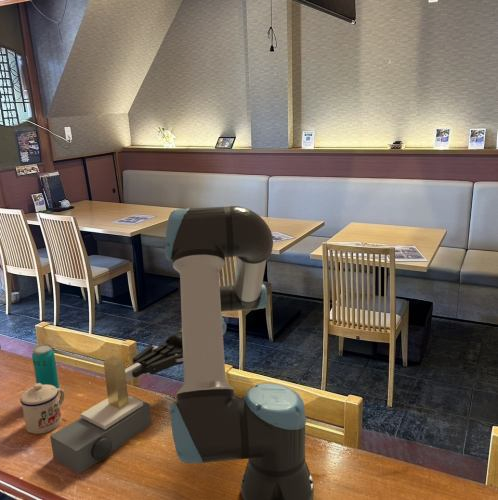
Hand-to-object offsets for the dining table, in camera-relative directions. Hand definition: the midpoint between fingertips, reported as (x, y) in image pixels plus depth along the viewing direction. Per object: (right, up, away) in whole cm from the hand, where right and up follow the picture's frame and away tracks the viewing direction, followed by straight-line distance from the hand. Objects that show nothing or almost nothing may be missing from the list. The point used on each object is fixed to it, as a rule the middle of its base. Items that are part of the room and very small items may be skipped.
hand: (120, 378), depth 127 cm
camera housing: (-3, -15, -2) cm, 15 cm away
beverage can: (-25, -10, +18) cm, 32 cm away
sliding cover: (-1, -8, -1) cm, 8 cm away
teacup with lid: (-20, -13, +6) cm, 25 cm away
